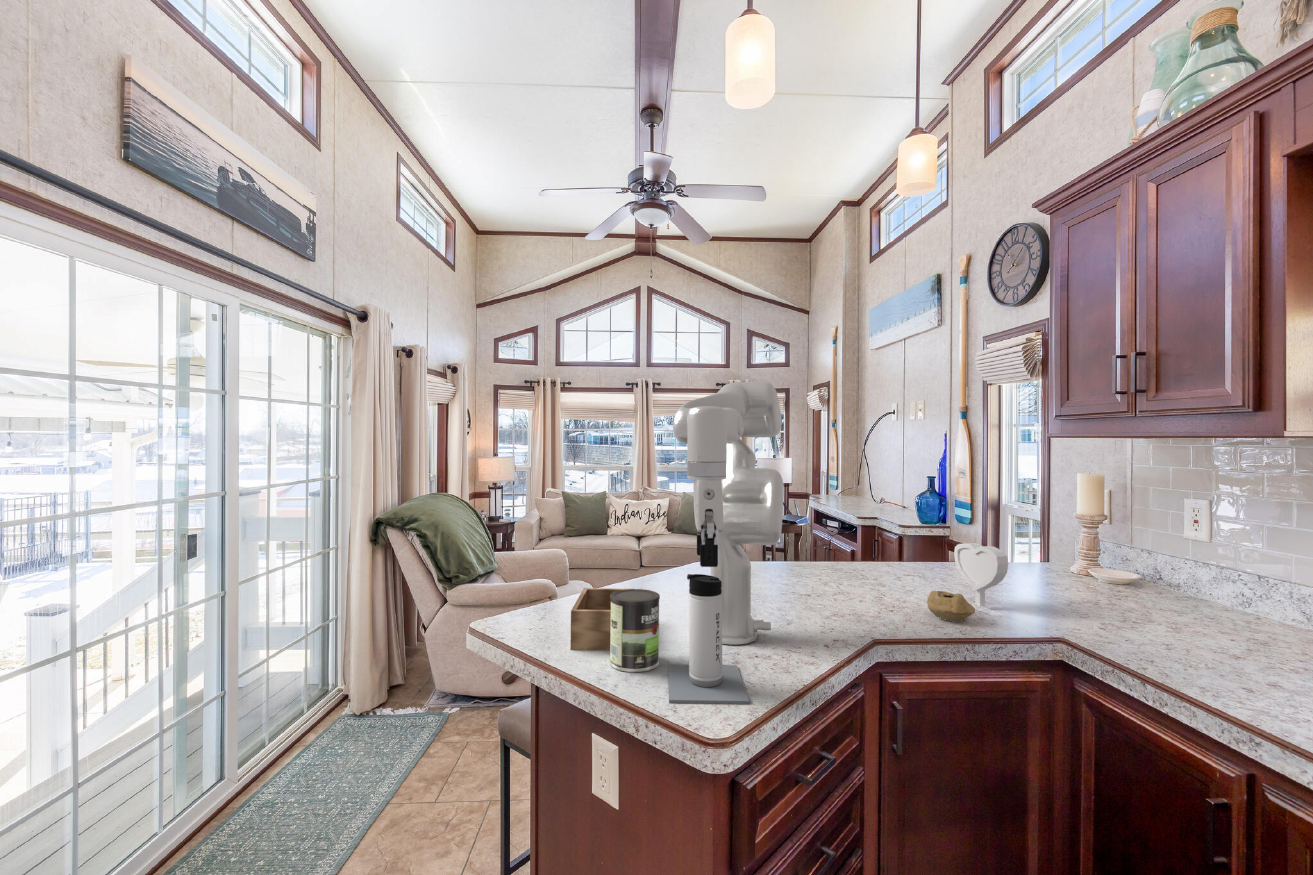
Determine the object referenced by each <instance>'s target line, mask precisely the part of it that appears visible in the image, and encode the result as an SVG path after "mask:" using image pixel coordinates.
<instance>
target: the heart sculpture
mask: <svg viewBox="0 0 1313 875" xmlns="http://www.w3.org/2000/svg"><path fill="white" fill-rule="evenodd" d="M953 555H954V564H955V566H956V568H957V571H958V572H959V574H960V576H962V578H963V579H964V581H965V582H967V584H968V585H969V586H970V587H971V588H972V589H973V591H974V592H975V594H974V595H975V597H974V600H975V601H974V603H975V605H977V606H983V607H985V608H986V607H987V606H986V590H988V589H990V588H993V587H995V586H997V585H998V584H999V583H1002V581H1003V580H1004V579H1005V576H1007V574H1008V569H1009V568H1008V567H1009V560H1008V559H1009V558H1008V555H1007V553H1005V551H1003V550H1001V549H999V548H998V547H996V546H993V545H987V546H984V545H982V544H981V543H978V542H975V543H974V542H969V543H968V542H967V543H958V544H957V545H956V546H954V552H953Z"/></svg>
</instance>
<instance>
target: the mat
mask: <svg viewBox="0 0 1313 875" xmlns="http://www.w3.org/2000/svg"><path fill="white" fill-rule="evenodd" d="M667 666H668V667H667V669H668V670H667V671H668V673H667V674H668V676H667V678H668V680H667V681H668V703H669V704H673V703H674V704H725V705H729V704H730V705H733V704H736V705H740V704H741V705H743V704H744V705H750V700H749V696H748V693H747V690H746V688H745V684H744V682H743V679H742V676H741V673H740V670H739V667H738V665H737V664H726V665H725V664H722V682H721V684H719V685H717V686H714V687H700V686H696V685H694V684H693V683H691V682H690V680H689V672H690V671H689V664H675V663H674V664H671V663H670V664H667Z"/></svg>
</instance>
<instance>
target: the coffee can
mask: <svg viewBox="0 0 1313 875" xmlns="http://www.w3.org/2000/svg"><path fill="white" fill-rule="evenodd" d="M625 589H626V590H620V591H616V592H613V593H612V594H611V595H610V599H611V637H610V650H609V655H610V656H609V658H610V659H609V665H610V666H611V667H612V669H615V670H617V671H621V672H626V673H642V672H648V671H651V670H654V669H655V668H657V667H658V666H659V663H660V662H659V658H660V657H659V656H660V655H659V653H660V652H659V650H660V649H659V645H660V644H659V643H660V640H659V639H660V638H659V637H660V636H659V635H660V631H659V630H660V629H659V628H660V626H659V625H660V597H661V596H660V593H658V592H656V591H653V590H650V589H645V588H644V589H641V588H625Z"/></svg>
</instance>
